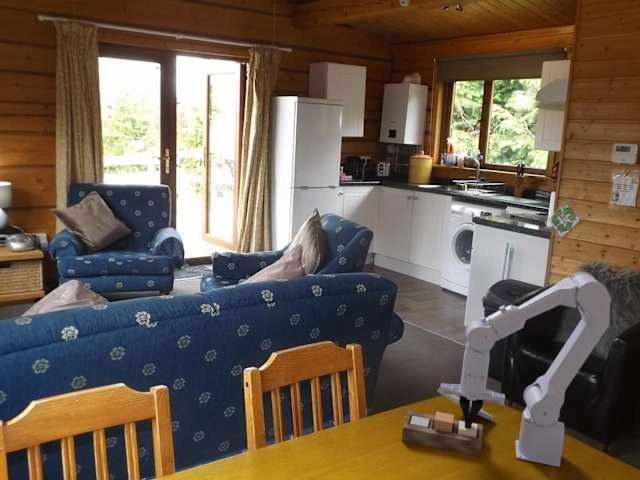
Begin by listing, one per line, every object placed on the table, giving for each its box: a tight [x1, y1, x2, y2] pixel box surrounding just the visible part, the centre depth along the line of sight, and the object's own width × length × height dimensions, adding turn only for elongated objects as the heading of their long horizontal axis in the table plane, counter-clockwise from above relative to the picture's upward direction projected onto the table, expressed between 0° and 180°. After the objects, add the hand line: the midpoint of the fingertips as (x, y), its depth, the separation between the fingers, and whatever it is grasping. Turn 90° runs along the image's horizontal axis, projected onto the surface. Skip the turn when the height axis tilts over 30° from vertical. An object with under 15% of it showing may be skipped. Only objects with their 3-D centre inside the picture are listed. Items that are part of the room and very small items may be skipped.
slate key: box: [410, 416, 430, 428], centre depth 145 cm, size 4×4×3 cm
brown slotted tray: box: [401, 410, 483, 458], centre depth 144 cm, size 18×9×4 cm, turn 74°
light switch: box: [437, 387, 496, 423], centre depth 155 cm, size 8×6×14 cm
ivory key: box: [458, 420, 478, 438], centre depth 142 cm, size 4×4×3 cm
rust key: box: [434, 411, 455, 433], centre depth 143 cm, size 4×4×3 cm
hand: (467, 426), depth 142 cm, fingers closed, pressing on ivory key
